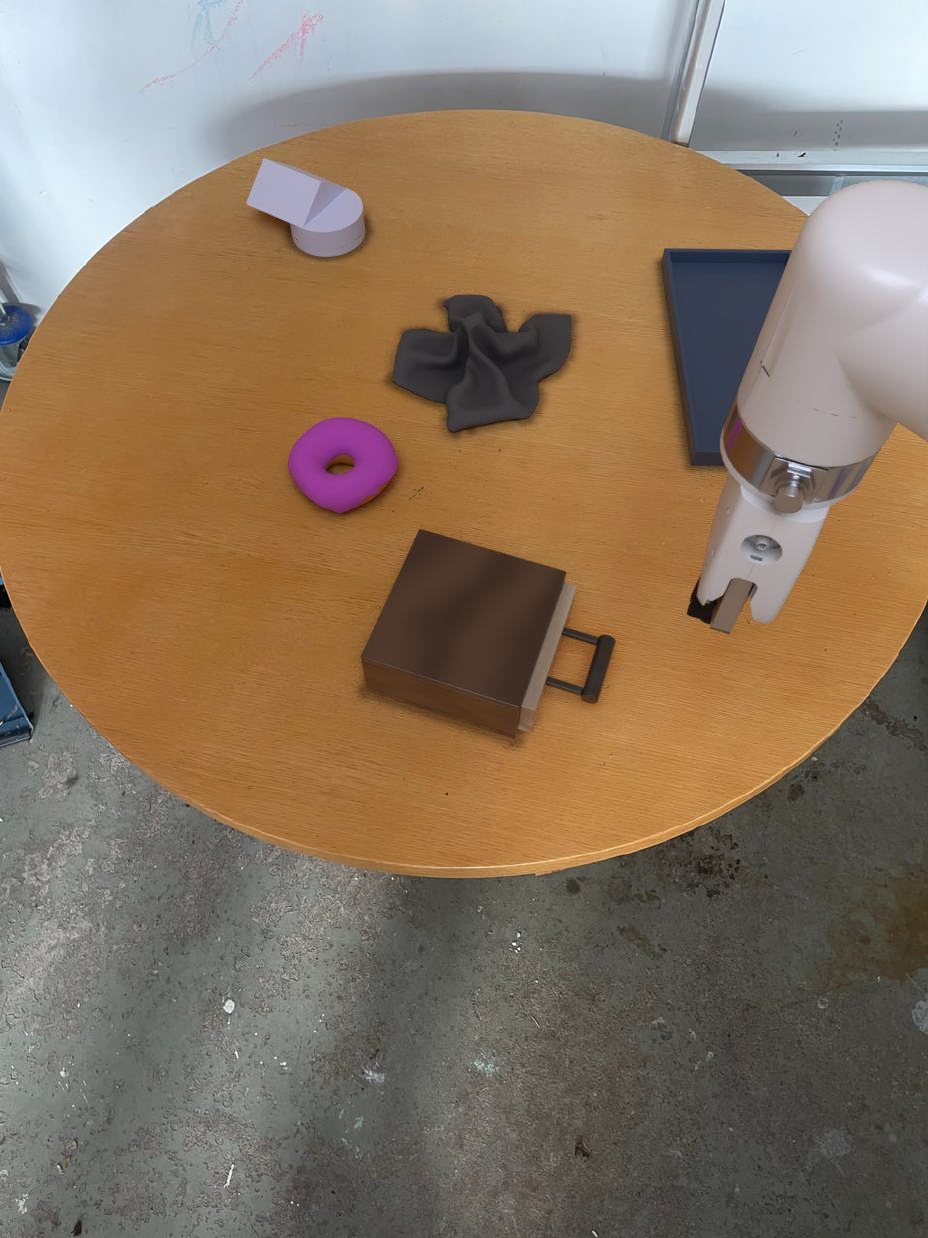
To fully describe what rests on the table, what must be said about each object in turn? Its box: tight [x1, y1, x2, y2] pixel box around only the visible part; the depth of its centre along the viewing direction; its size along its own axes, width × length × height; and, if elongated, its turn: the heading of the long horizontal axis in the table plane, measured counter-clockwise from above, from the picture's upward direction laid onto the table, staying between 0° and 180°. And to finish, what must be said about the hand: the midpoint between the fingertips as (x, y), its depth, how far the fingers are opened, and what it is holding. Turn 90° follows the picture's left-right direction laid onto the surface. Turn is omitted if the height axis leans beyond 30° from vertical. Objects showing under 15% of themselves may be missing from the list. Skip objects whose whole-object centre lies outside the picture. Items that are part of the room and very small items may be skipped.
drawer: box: [518, 582, 617, 734], centre depth 75 cm, size 17×12×5 cm
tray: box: [660, 247, 792, 467], centre depth 96 cm, size 31×15×2 cm, turn 179°
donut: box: [287, 416, 400, 514], centre depth 86 cm, size 10×10×5 cm
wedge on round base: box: [245, 157, 366, 258], centre depth 104 cm, size 9×7×13 cm
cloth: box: [390, 293, 572, 432], centre depth 94 cm, size 22×19×6 cm
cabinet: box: [360, 528, 567, 740], centre depth 75 cm, size 14×14×7 cm
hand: (710, 612), depth 60 cm, fingers closed
